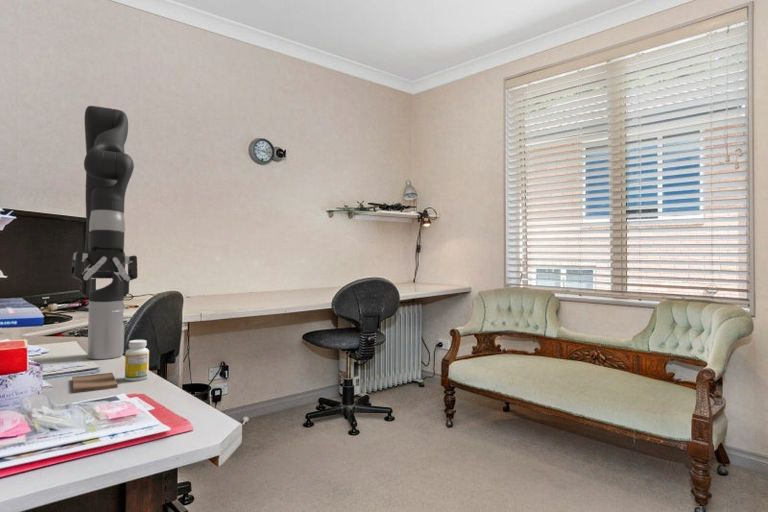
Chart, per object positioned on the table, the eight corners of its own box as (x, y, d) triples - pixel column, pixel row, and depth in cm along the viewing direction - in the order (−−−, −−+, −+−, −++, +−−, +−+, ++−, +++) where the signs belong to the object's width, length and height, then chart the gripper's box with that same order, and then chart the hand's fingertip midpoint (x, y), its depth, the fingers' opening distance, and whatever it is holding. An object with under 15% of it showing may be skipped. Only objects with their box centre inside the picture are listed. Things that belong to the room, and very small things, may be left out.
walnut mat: (72, 380, 116) (72, 376, 116) (112, 375, 121) (112, 372, 121) (73, 392, 105) (73, 389, 105) (117, 387, 110) (117, 384, 110)
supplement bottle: (143, 381, 116) (144, 342, 116) (120, 381, 116) (121, 342, 116) (152, 376, 121) (152, 339, 122) (130, 376, 121) (131, 339, 121)
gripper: (129, 235, 122) (127, 297, 121) (67, 229, 111) (64, 297, 109) (143, 232, 118) (142, 296, 116) (81, 225, 107) (78, 296, 105)
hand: (104, 296), depth 113 cm, fingers open, 8 cm apart
